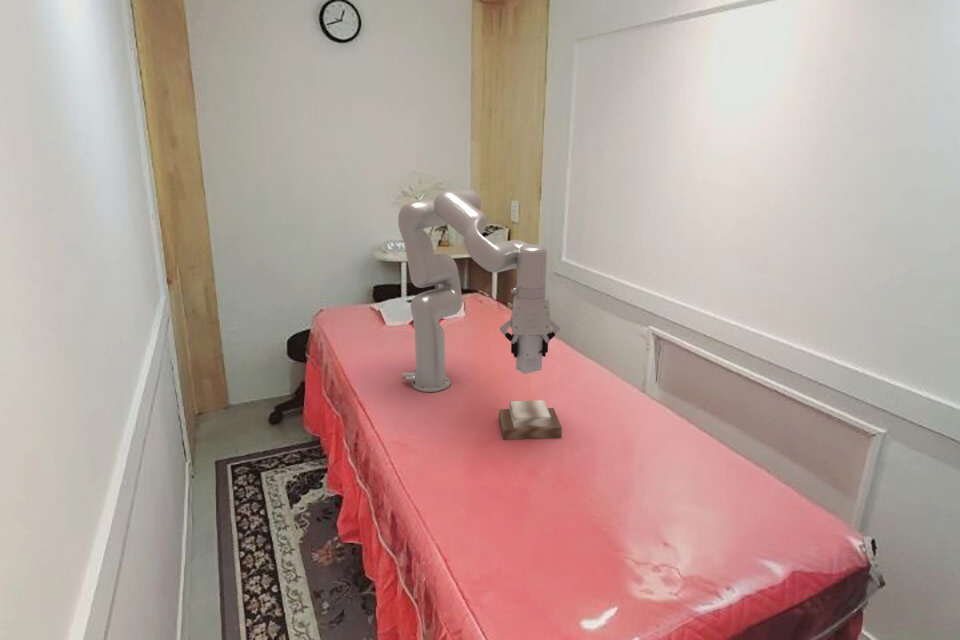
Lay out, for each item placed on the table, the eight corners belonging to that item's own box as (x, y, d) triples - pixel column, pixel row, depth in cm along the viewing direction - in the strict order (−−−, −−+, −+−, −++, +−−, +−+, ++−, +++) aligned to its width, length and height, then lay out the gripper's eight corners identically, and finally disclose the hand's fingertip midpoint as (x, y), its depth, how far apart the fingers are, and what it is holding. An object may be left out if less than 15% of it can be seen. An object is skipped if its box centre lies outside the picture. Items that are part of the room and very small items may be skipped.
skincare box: (524, 374, 156) (526, 332, 152) (514, 369, 160) (515, 327, 156) (542, 370, 159) (544, 328, 155) (532, 364, 163) (533, 323, 159)
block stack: (503, 439, 158) (503, 419, 157) (498, 418, 170) (499, 400, 168) (561, 437, 160) (562, 418, 158) (553, 417, 171) (554, 398, 169)
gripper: (499, 296, 148) (498, 361, 154) (566, 295, 150) (563, 359, 155) (496, 289, 156) (496, 351, 161) (561, 288, 157) (558, 349, 162)
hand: (529, 354), depth 158 cm, fingers closed on skincare box, 7 cm apart
